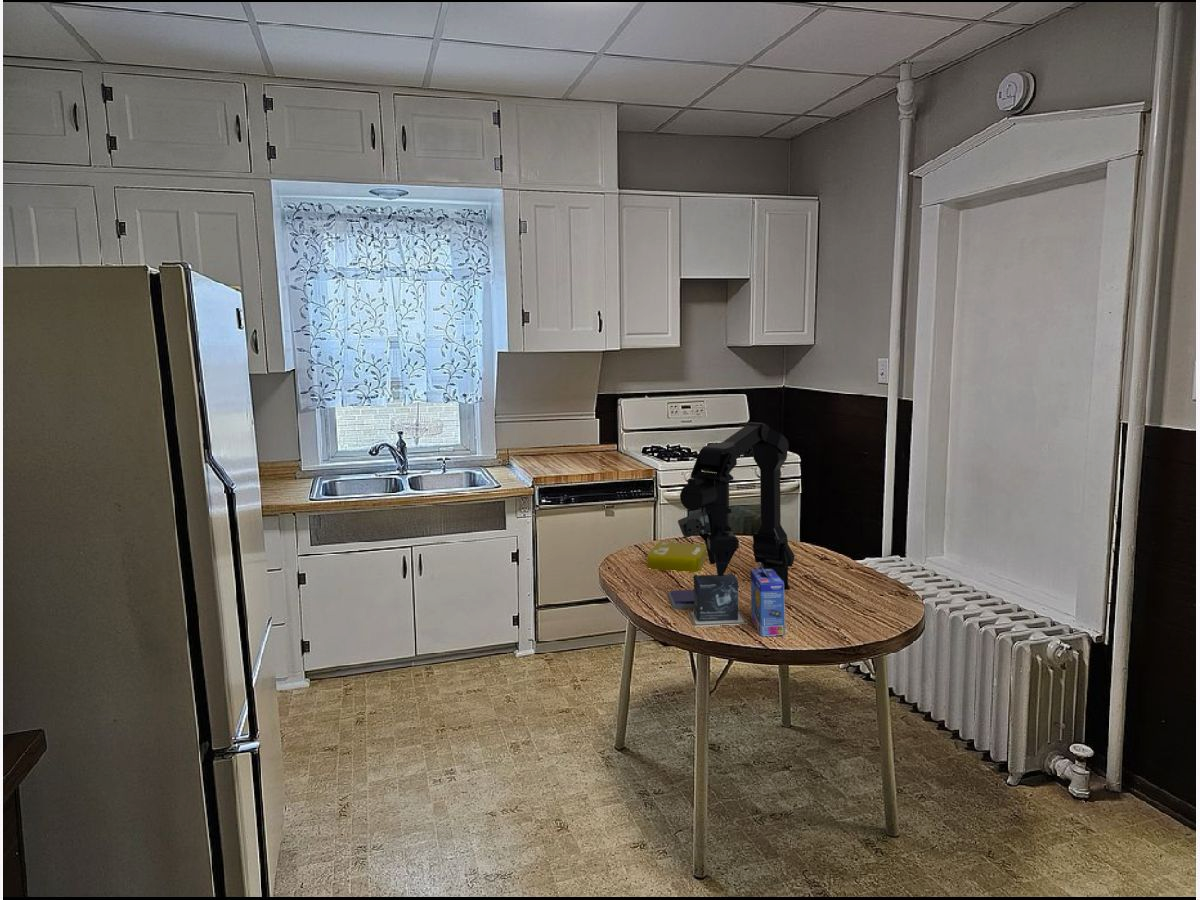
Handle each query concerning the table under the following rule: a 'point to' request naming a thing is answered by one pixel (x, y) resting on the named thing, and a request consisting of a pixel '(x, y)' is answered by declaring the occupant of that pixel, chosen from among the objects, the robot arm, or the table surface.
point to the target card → (716, 623)
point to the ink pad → (682, 599)
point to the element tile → (677, 556)
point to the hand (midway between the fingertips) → (716, 569)
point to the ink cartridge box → (767, 602)
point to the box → (715, 597)
